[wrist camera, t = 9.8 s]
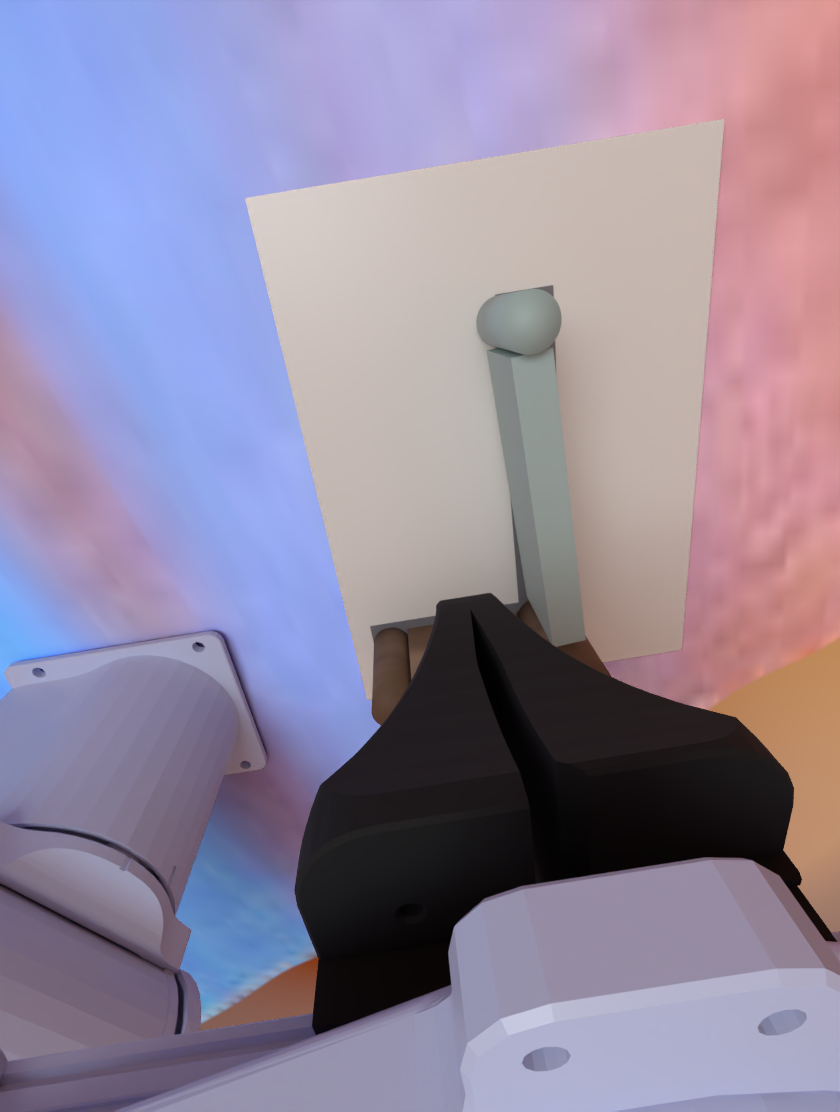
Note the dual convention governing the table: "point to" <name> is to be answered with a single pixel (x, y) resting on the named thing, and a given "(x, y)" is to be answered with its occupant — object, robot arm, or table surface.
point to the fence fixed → (405, 652)
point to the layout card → (465, 382)
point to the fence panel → (535, 453)
